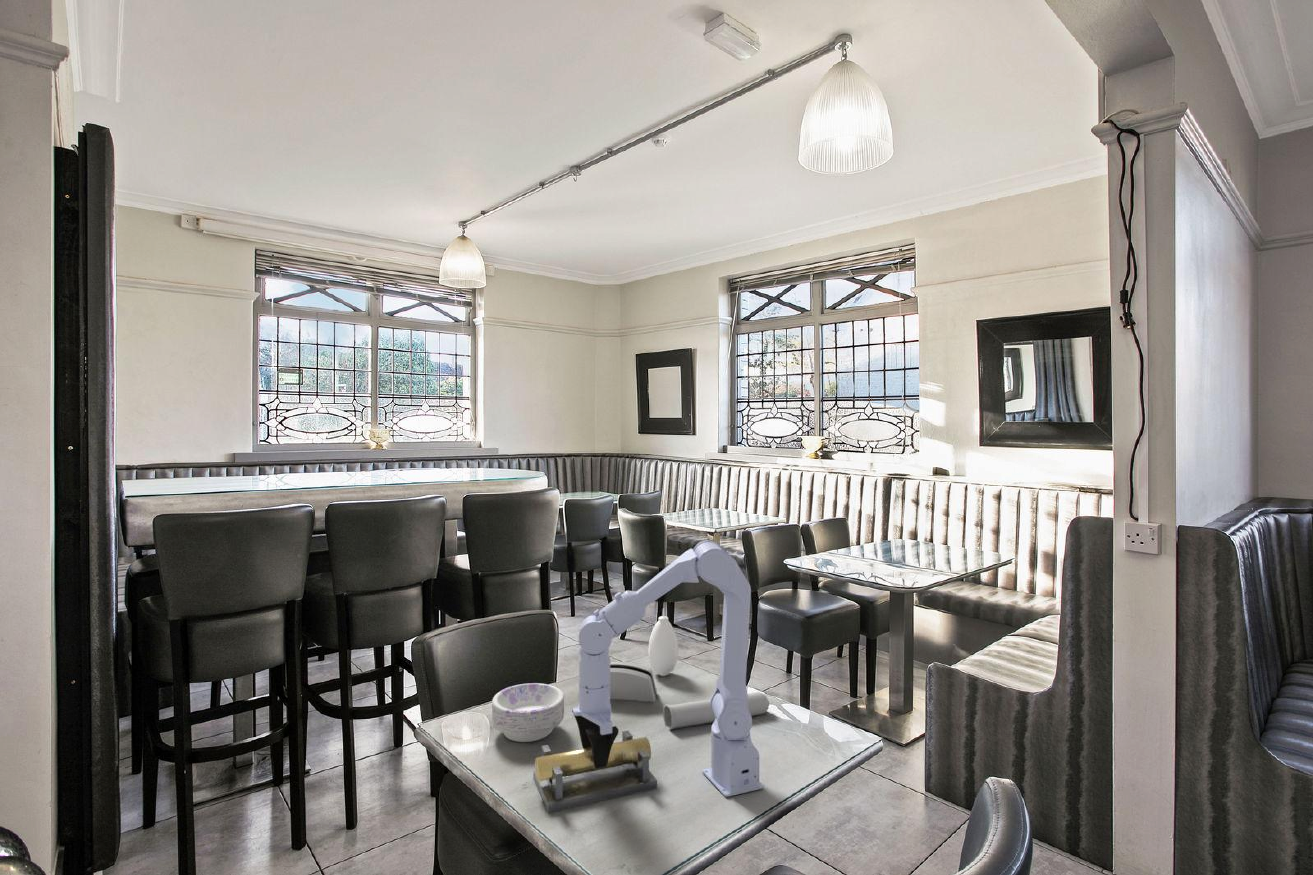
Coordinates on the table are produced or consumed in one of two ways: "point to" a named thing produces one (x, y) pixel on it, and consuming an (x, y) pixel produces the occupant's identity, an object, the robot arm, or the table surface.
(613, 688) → the white rounded block
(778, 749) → the table surface
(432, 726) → the table surface
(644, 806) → the table surface
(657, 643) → the white air blower bulb
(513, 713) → the paper bowls
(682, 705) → the tube
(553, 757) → the brass pin
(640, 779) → the corner post stand
